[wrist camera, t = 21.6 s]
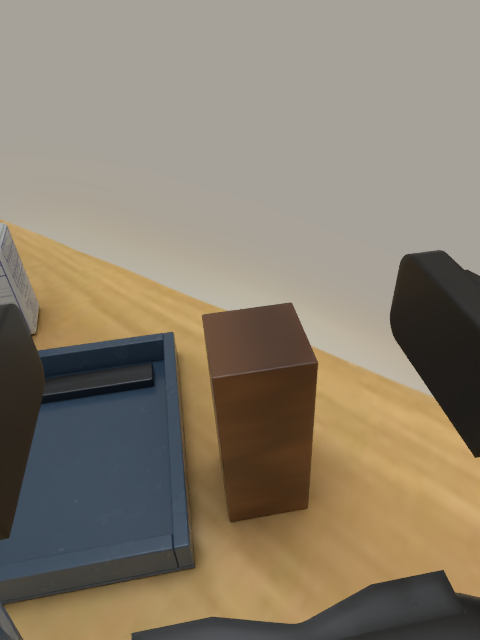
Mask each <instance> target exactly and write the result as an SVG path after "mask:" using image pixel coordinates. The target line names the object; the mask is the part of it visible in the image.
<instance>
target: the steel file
mask: <svg viewBox="0 0 480 640" xmlns="http://www.w3.org/2000/svg"><path fill="white" fill-rule="evenodd" d="M147 387H154V367H153V363H147V364H140V365H133V366H126V367H119V368H112V369H106V370H99V371H92V372H85V373H78V374H72V375H65V376H58V377H51V378H45V388H44V393H43V397H42V402H41V404H42V403H49V402H55V401H62V400H68V399H75V398H82V397H88V396H95V395H101V394H108V393H115V392H121V391H128V390H134V389H141V388H147Z"/></svg>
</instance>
